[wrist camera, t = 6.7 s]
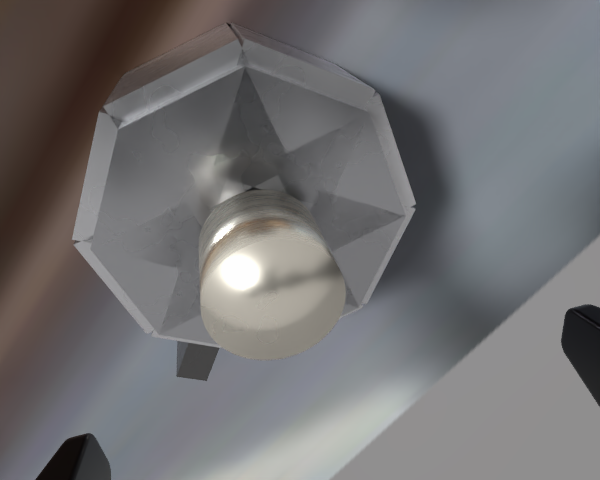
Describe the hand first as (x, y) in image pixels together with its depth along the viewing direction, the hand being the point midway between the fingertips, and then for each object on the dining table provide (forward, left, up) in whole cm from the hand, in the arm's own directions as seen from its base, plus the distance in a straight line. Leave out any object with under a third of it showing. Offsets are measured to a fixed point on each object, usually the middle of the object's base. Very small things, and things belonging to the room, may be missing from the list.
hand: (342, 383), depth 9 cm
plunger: (+1, +1, -12) cm, 12 cm away
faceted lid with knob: (+1, +2, -13) cm, 13 cm away
